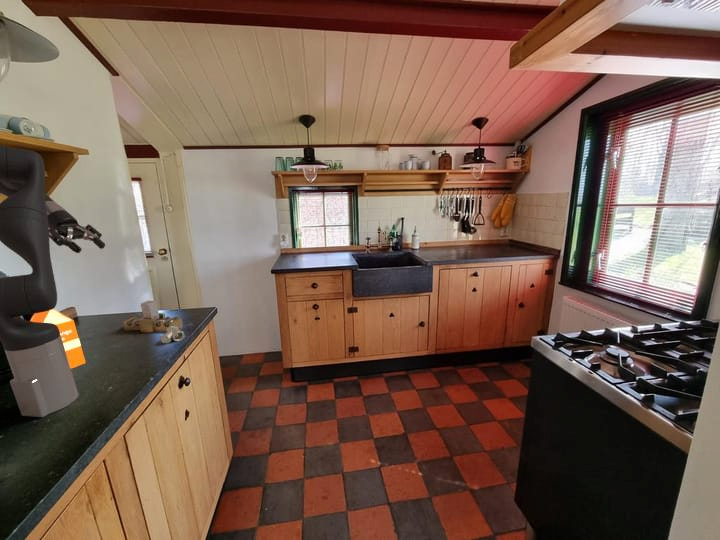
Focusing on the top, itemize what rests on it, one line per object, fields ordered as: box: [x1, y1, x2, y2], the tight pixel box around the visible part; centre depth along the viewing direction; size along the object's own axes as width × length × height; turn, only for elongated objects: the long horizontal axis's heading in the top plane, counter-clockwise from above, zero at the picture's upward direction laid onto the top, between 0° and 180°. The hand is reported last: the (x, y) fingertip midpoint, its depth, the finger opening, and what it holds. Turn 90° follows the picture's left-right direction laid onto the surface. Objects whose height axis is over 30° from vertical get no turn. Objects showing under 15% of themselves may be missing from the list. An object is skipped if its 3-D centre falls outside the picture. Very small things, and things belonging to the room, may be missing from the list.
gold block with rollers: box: [122, 312, 184, 333], centre depth 117 cm, size 7×21×5 cm, turn 83°
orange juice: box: [29, 308, 86, 369], centre depth 90 cm, size 8×9×20 cm
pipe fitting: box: [160, 326, 185, 344], centre depth 108 cm, size 8×4×7 cm
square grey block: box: [140, 300, 160, 323], centre depth 116 cm, size 4×4×11 cm
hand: (92, 249), depth 107 cm, fingers open, 8 cm apart
